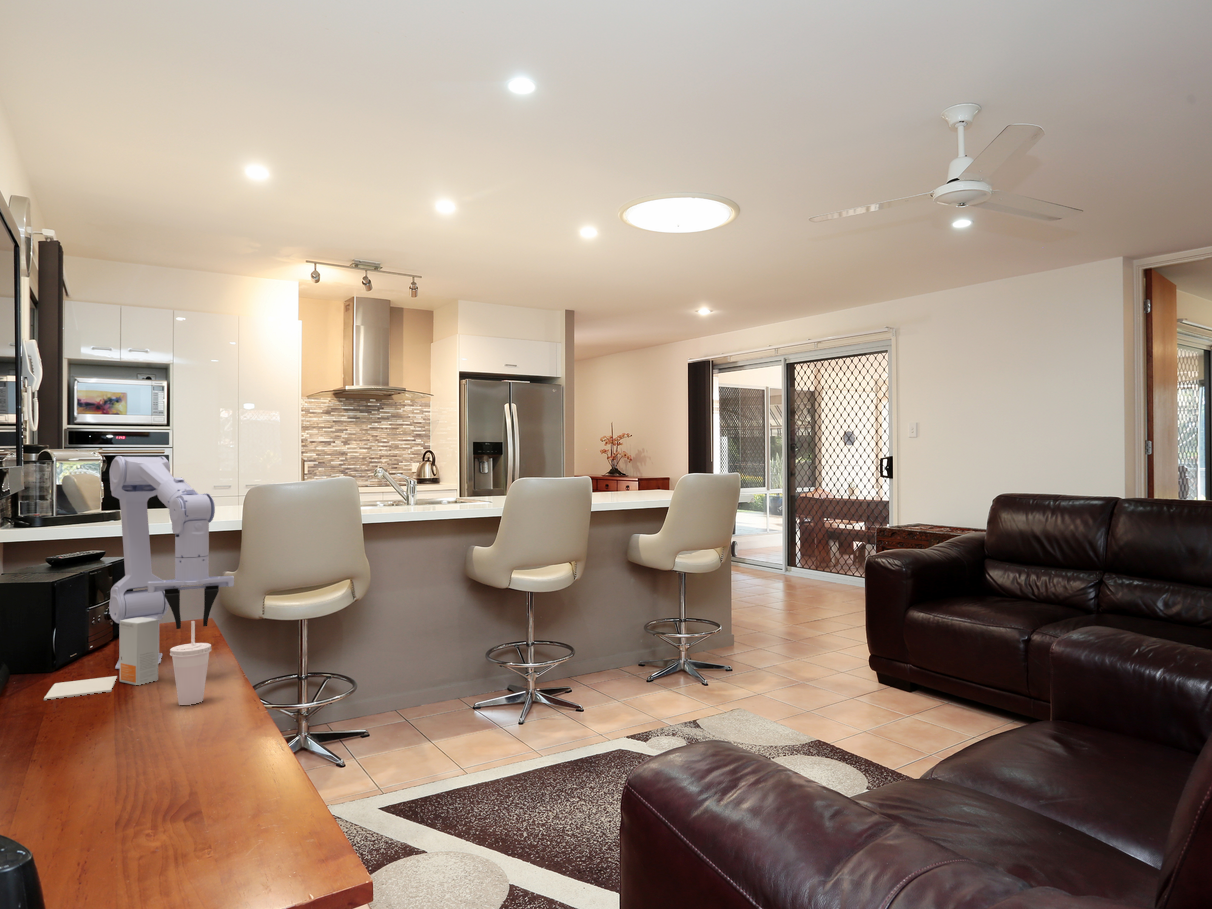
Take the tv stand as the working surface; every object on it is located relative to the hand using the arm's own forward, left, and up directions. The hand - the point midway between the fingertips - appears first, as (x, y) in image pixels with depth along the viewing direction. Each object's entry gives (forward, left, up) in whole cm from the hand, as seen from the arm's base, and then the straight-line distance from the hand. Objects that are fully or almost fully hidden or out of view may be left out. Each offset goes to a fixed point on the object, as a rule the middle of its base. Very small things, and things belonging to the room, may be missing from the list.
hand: (192, 626), depth 143 cm
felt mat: (-5, -18, -10) cm, 21 cm away
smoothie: (+16, 0, -11) cm, 19 cm away
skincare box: (-5, -9, -11) cm, 15 cm away
